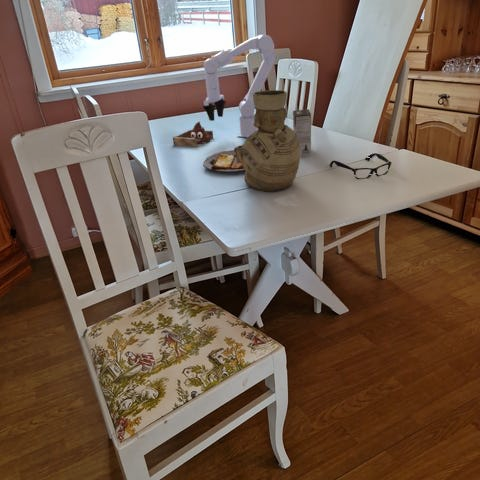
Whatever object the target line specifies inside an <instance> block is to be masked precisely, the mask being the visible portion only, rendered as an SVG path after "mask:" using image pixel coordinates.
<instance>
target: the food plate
mask: <svg viewBox="0 0 480 480" xmlns="http://www.w3.org/2000/svg"><path fill="white" fill-rule="evenodd" d="M202 166H203V168H205V169H207V170H209V171H213V172H224V173H226V172H228V173H232V172H233V173H235V172H242V171H245V169H244V168H243V164H242V161H241V163H237V162H236V153H235V152H234V149H231V150H223V151H220V152H215V153H213V154H211V155H209V156H207V157H206V158H205V160H204V162H203V163H202Z"/></svg>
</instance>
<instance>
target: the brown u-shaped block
mask: <svg viewBox="0 0 480 480" xmlns="http://www.w3.org/2000/svg"><path fill="white" fill-rule="evenodd" d="M191 131H192V129H188V130H187V131H184V132H182V133H179V134H177V135H176V136H174V137H173V136H172V141H173V142H172V143H173V146H181V147H182V146H183V147H196V148H197V147H198V143H197V139H195V138H189V137H190V133H191ZM205 131H206V132H207V135H208V136H209V137H210V139H214V134H213V133H214V132H213V130H206V129H205Z"/></svg>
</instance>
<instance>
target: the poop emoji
mask: <svg viewBox="0 0 480 480" xmlns="http://www.w3.org/2000/svg"><path fill="white" fill-rule="evenodd" d="M191 130H192V131H191V133H190V137H189V138H195V139H197V144H206V143H208V142H210V140H211V138H210V137H209V136H208V135H207V132H206V131H205V130H206V129H205V127H204V126H202V125H201V121H198V122H196V123H195V124H194V126H193V128H192V129H191Z"/></svg>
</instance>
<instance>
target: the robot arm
mask: <svg viewBox="0 0 480 480" xmlns="http://www.w3.org/2000/svg"><path fill="white" fill-rule="evenodd" d="M249 50H255V51H256V50H258V51H259V52H260V54H261V57H262V61H261V64H260V66H259V68H258V70H257V72H256V75H255V76H254V78H253V81H252V83H251V85H250V88H249V90H248V92H247V93H246V94H245V96H244V98H243V99H242V100H241V101H240V103H238V109H239V112H240V114H239V128H240V130H239V131H240V134H238V135H237V138H238V137H239V138H248V137H249V136H250V135H251V134H252V133H253V132H254V131H258V127H255V126H254V125H253V124H254V116H255V114H256V113H254V112H255V105H254V101H253V93H254V92H258V91H262V88H263V87H264V85H265V82H266V80H267V78H268V76H269V74H270V72H271V70H272V68H273V65H274V63H275V61H276V55H275V43H274V41H273V38H272V37H271V36H270V35H267V34H264V33H261V34H259V35H257V36H254V37H251V38H249V39H247V40H245V41H244V42H242V43H240V44H238V45H237V46H236V47H234V48H232V49H231V50H230V49H227V48H225V49H221V50H220V52H219V53H217V54H215V55H211V56H210V57H211V58H207V59H206V60H205V61H204V63H203V69H204V71H205V72H204V76H205V79H204V80H205V87H206V94H207V96H206V98H205V100H203V105H202V107H203V109H204V110H205V112H206V115H207V117H208V120H209V121H212V122H213V121H215V110H216V113H217V117H219V118H221V117H223V115H224V109H225V106H226V102H227V100H226V99H225V95H224V94H221V93H220V82H219V76H218V69H222V68H223V67H226V66H227V65H230V64H232V63H233V61H234V58H235V57H238V56H239V55H241V54H243V53H246V52H248V51H249Z"/></svg>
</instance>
